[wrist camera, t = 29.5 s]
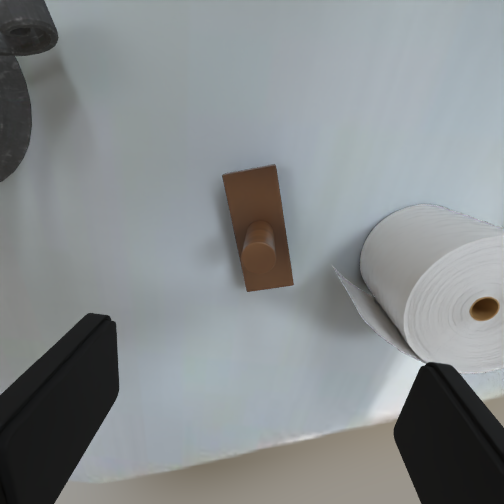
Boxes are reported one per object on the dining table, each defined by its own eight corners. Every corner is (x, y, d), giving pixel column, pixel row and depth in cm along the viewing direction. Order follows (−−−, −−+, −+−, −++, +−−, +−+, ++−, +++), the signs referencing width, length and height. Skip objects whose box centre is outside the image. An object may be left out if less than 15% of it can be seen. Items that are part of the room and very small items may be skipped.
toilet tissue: (490, 264, 28) (601, 322, 19) (383, 328, 31) (433, 405, 22) (436, 179, 26) (534, 198, 16) (326, 257, 29) (355, 311, 20)
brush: (226, 172, 27) (208, 183, 18) (274, 162, 26) (279, 170, 18) (248, 278, 30) (241, 330, 22) (291, 272, 30) (301, 322, 21)
